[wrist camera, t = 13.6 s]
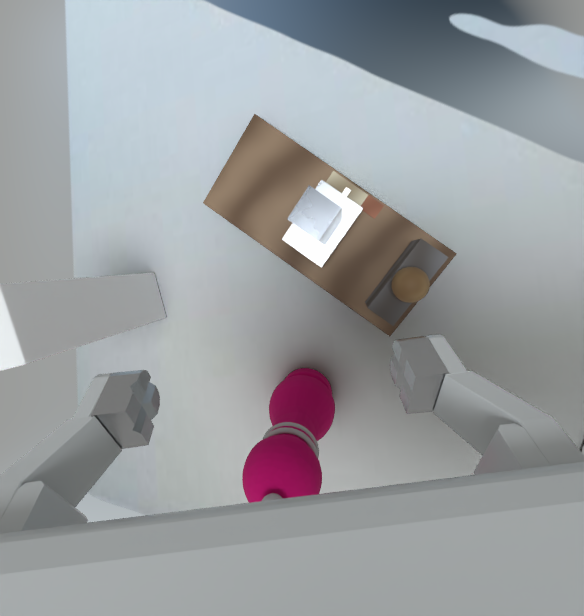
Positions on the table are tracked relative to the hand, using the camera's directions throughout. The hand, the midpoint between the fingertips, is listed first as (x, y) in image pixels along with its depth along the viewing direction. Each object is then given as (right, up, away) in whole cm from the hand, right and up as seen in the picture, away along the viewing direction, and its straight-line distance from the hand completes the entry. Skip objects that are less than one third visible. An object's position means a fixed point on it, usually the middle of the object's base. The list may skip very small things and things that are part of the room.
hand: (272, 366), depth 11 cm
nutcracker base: (+4, +11, +26) cm, 28 cm away
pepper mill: (+2, -8, +29) cm, 31 cm away
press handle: (+4, +11, +24) cm, 27 cm away
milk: (-19, +3, +31) cm, 37 cm away
